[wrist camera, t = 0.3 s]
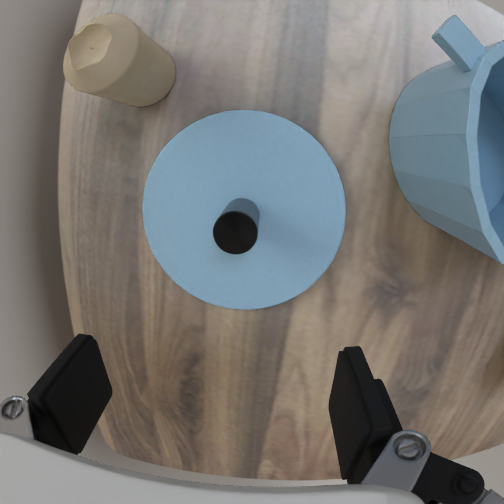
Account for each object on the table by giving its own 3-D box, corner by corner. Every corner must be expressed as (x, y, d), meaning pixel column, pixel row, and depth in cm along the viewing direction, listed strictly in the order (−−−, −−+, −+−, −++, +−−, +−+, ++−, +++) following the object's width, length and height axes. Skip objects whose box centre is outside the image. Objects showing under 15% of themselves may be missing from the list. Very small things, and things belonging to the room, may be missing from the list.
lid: (229, 73, 22) (216, 47, 16) (380, 204, 25) (414, 221, 18) (115, 225, 26) (76, 248, 20) (255, 334, 29) (252, 381, 23)
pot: (426, 19, 19) (493, -26, 8) (537, 176, 22) (609, 195, 11) (329, 123, 23) (378, 102, 12) (466, 278, 26) (533, 333, 15)
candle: (157, 116, 23) (97, 100, 14) (107, 95, 23) (37, 77, 13) (188, 60, 22) (146, 14, 12) (136, 41, 21) (79, 0, 11)
